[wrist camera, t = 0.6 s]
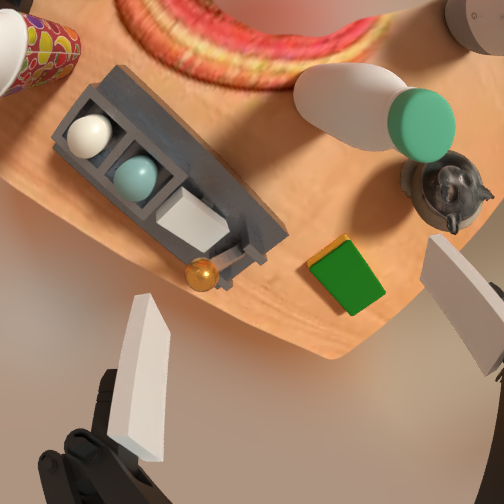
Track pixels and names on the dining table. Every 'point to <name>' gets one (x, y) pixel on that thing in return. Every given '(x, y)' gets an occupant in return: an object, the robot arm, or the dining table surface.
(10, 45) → the smoothie
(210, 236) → the white brick eraser
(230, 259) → the lever
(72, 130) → the button cream
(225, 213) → the grey compartment panel
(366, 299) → the dish sponge
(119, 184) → the button teal
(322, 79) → the milk bottle
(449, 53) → the dining table surface
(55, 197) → the dining table surface
